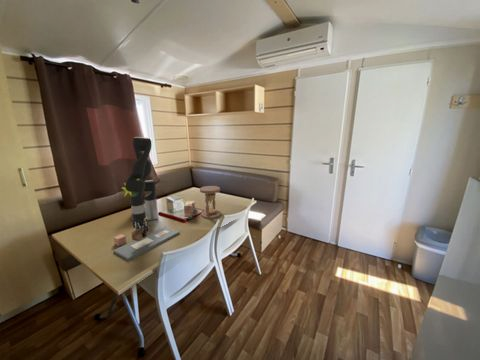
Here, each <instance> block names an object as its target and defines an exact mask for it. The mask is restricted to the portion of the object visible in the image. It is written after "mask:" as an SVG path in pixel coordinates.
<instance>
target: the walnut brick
mask: <svg viewBox="0 0 480 360" xmlns="http://www.w3.org/2000/svg"><path fill="white" fill-rule="evenodd" d="M142 227H143V226H142ZM150 233H151V230H150V226H148V231H146V236H147V235H149V234H150ZM141 239H143V237H142V231H141V229H140V228H138V229H137V230H135V229H134V231H132V232H131V240H132V241H134V240H135V241H140V240H141Z"/></svg>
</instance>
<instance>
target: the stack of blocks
mask: <svg viewBox="0 0 480 360" xmlns="http://www.w3.org/2000/svg"><path fill="white" fill-rule="evenodd" d="M194 209H195V210H196V204H195V200H186V201H185V203H184V205H183V211H184V212H183V213H184V218H185V217H192V215H193V216H194V214H193V212H194V213H195V211H194ZM192 218H193V217H192Z"/></svg>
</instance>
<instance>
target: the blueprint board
mask: <svg viewBox="0 0 480 360" xmlns="http://www.w3.org/2000/svg"><path fill="white" fill-rule="evenodd" d="M180 234H181V233H180V231H179V230H176V229H173V228H171V227H167V226H163V227H160V228H158V229H157V230H155V231H152V232H150V234H149V235H147V236H146V237H144V238H143V239H141V240H140V241H135V240H132V241H130V242H128V243H125V244H123V245H120V246H118V247H117V248H115V249H113V253H114V254H116V255H117V256H120V257H121V258H122V259H124V260H127V261H128V262H129V261H130V260H132V259H134V258H136V257H139V256H140V255H142V254H144V253H146V252H148V251H150V250H152V249H153V248H155V247H157V246H159V245H160V244H163V243H164V242H166V241H169V240H170V239H172V238H174V237H175V236H178V235H180Z"/></svg>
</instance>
